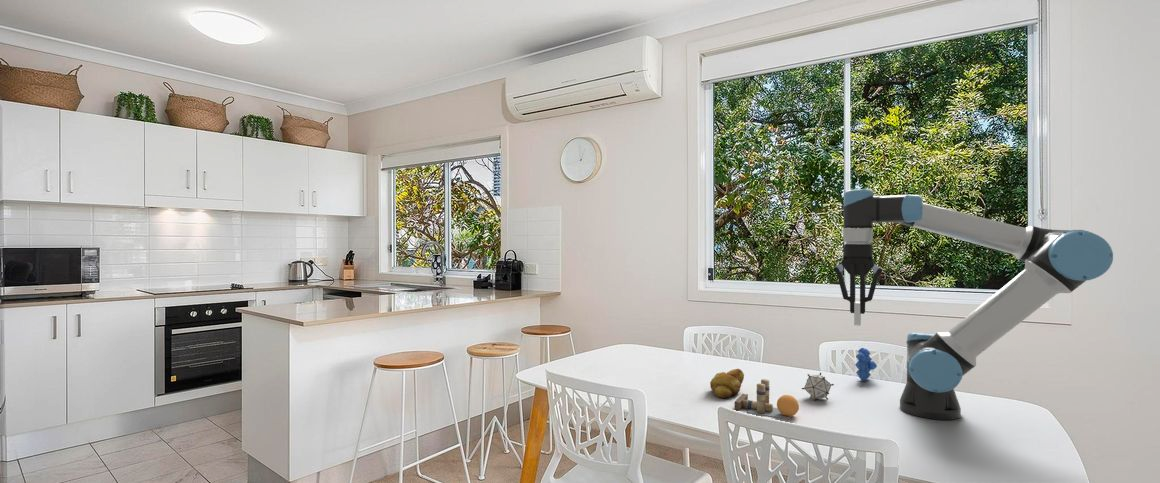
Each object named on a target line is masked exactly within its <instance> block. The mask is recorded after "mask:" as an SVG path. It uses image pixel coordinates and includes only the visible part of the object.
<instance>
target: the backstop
mask: <svg viewBox="0 0 1160 483" xmlns="http://www.w3.org/2000/svg"><path fill="white" fill-rule="evenodd" d="M748 396H749V395H748V394H747V393H742V394H741V395H740V396H738V398H737V399H736V400H735V401H734V411H739V412H740V411H741V410H742V409H743V407H742V401H743V399H744V400H749V397H748Z"/></svg>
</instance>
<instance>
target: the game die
mask: <svg viewBox="0 0 1160 483" xmlns="http://www.w3.org/2000/svg"><path fill="white" fill-rule="evenodd" d="M807 376H808V378H807V379H806V383H805V385H804V387H802V388H801V390H805V391H806V392H807V394H809V395H810V397H812V398H813V401H814V402H816V400H817V399H825V400H829V397H827V396H828V395H830V389H831V387H832V386H834V385H835V384H834V383H831V382H829V381H828V379H826V377H825V376H823V375H822V372H820V373H819V374H814V375H813V374H812V375H810V374H809V373H807Z"/></svg>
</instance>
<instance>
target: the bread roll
mask: <svg viewBox="0 0 1160 483" xmlns="http://www.w3.org/2000/svg"><path fill="white" fill-rule="evenodd" d="M744 377H745V374H744V372H743V370H742V369H740V368H735V369H731V370H729V371H727V372H725V371H722V372H718V373H716V374H715V375H714V376H713V378H712V379H711V381H710V383H709V384H710V389H711V391H712V392H713V394H715V396H716V397H718V398H723V399H724V398H725V399H727V398H730V397H731V396H734V395H735V396H736V395H738V394H739V393H740V391H741V387H742V383H743V382H744V379H745V378H744Z"/></svg>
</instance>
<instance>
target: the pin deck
mask: <svg viewBox="0 0 1160 483" xmlns="http://www.w3.org/2000/svg"><path fill="white" fill-rule="evenodd" d="M746 413H748V414H752V415H758V416H764V417H770V418H776V417H777V418H776V419H781V418H783V420H787V419H789V420H788V421H790V420H791V419H790V418H792V417H793V416H785V415H783V414H781V413H780V412H779V410H778V408H777V407H774V406H773V411H772V412H766V411H765V414H761V415H760V414H759V413H757V410H755V409H747V411H746Z"/></svg>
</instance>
